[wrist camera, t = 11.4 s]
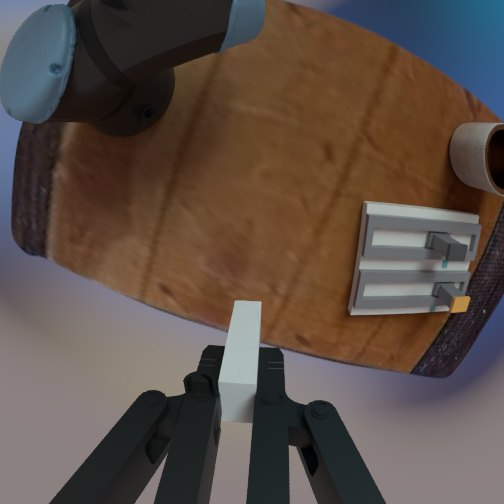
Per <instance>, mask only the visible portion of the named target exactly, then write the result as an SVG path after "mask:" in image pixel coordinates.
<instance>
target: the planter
mask: <svg viewBox="0 0 504 504" xmlns="http://www.w3.org/2000/svg"><path fill="white" fill-rule="evenodd" d="M450 160H451V164H452V168H453V170H454V172H455V174H456V175H457V177H458V178H459V179H460V180H461V181H462V182H463V183H464V184H466V185H468V186H471V187H474V188H478V189H481V190H485V191H488V192H492V193H495V194H498V195H501V196H504V123H465V124H462V125H460V126H459V127H458V128H457V129H456V130H455V131H454V133H453V135H452V138H451V142H450Z"/></svg>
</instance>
